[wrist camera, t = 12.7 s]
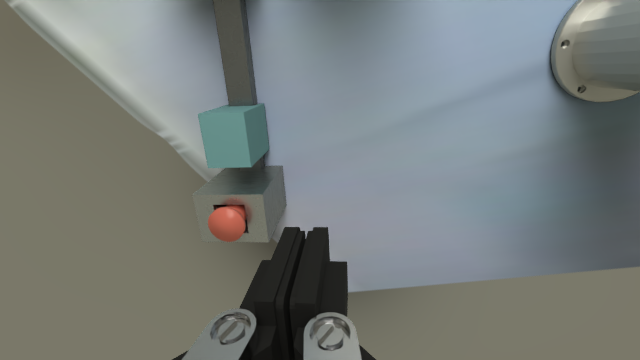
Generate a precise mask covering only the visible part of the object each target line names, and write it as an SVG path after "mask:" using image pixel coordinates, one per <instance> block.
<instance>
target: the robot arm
mask: <svg viewBox="0 0 640 360" xmlns="http://www.w3.org/2000/svg"><path fill="white" fill-rule="evenodd" d="M561 43H562V46H561ZM551 64H552V71H553V73H554V76H555V78H556V80H557V82H558V83H559V85H560V86H561V87H562V88H563V89H564V90H565V91H566V92H567V93H569V94H570V95H572V96H574V97H576V98H578V99H582V100H586V101H593V102H611V101H616V100H621V99H624V98H627V97H630V96H632V95H635V94H637V93H639V92H640V0H578V1H576V3H575V4H574V5H573V6H572V7H571V9H570V10H569V11H568V12H567V14H566V15H565V17H564V18H563V20H562V21H561V23H560V25H559V27H558V29H557V32H556V34H555V36H554V40H553V44H552V49H551ZM577 89H578V90H577ZM347 296H348V281H347V262H336V261H330V256H329V235H328V227H314V228H313V231H308V234H307V237H306V238H305V231H300V228H299V227H285V228H284V231H283V233H282V235H281V238H280V240H279V242H278V245H277V247H276V250H275V252H274V254H273V257H272V259H271V260H263V261H262V262H261V263H260V266H259V268H258V270H257V272H256V274H255V276H254V278H253V280H252V283H251V285H250V287H249V289H248V291H247V293H246V295H245V298H244V300H243V302H242V304H241V306H240V308H239V309H231V310H227V311H225V312H223V313H221V314H219V315H218V316H216V317H215V318H214V319H213V320H212V321H211V322H210V323H209V324H208V325H207V327H206V328H205V329H204V331H203V332H202V333H201V335H200V336H199V337H198V339H197V340H196V342H195V343H194V344H193V345H192V347H191V348H190V349H189V350H188V351H186V352H185V353H183V354H181V355H179V356H178V357H176V358H174V359H173V360H376V359H375V358H374V357H372V356H371V355H370V354H369V353H368V352H367V351H366V350H365V349H363V348H362V347H361V346H360V345H359V343H358V338H357V333H356V329H355V327H354V324H353V323H352V322H351V320H350V319H349V318H347V300H348V298H347Z"/></svg>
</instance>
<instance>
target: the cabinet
mask: <svg viewBox="0 0 640 360" xmlns="http://www.w3.org/2000/svg"><path fill="white" fill-rule="evenodd" d="M192 196H193V201H194V206H195V210H196V215H197V219H198V224H199V229H200V233H201V238H202V241H203V242H226V241H222V240H220V239H218V238H216V237H215V236H214V235H213V234H212V233H211V231H210V229H209V227H208V219H209V216H210V215H211V214H212V213H213V211H215V210H216V209H217V208H220V207H225V206H226V205H244V206H245V212H246V220H245V222H246V228H245V231H244V233H243V234H242V236H241V237H240V238H239V239H238V240H236V241H232V242H269V241H270V239H271V236H272V234H273V232H274V230H275V228H276V226H277V224H278V222H279V219H280V217H281V215H282V213H283V211H284V209H285V207H286V196H285V186H284V176H283V166H264V168H263V169H262V170H261V171H239V168H225V169H224V170H222V171H221V172H220V173H219V174H217V175H216V176H215V177H214V178H212V179H211V180H210V181H209V182H207V183H206V184H205V185H204V186H203V187H201V188H200V189H199V190H198V191H197V192H195V193H194V194H193V195H192Z"/></svg>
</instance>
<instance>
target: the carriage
mask: <svg viewBox="0 0 640 360" xmlns="http://www.w3.org/2000/svg"><path fill="white" fill-rule="evenodd" d="M198 118H199V123H200V128H201V133H202V138H203V144H204V149H205V154H206V159H207V165H208V168H239V167H252V166H253V165H254V164H255V163H256V162H257V161H258V160H259V159H260V158H261V157H262V156H263V155H264V154H265V153H266V152H267V151H268V150H269V143H268V134H267V125H266V116H265V107H264V104H257V105H254V106H229V105H225V106H222V107H219V108H216V109H212V110H209V111H206V112H203V113H200V114H198Z"/></svg>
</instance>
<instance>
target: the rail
mask: <svg viewBox="0 0 640 360" xmlns="http://www.w3.org/2000/svg"><path fill="white" fill-rule="evenodd" d="M213 4H214V10H215V17H216V23H217V30H218V36H219V43H220V49H221V56H222V62H223V69H224V75H225V82H226V88H227V95H228V101H229V106H254V105H257V96H256V88H255V79H254V71H253V63H252V55H251V46H250V38H249V30H248V21H247V13H246V5H245V0H213ZM264 166H265V162H264V155H263V156H262V157H261V158H260V159H259V160H258V161H257V162H256V163H255V164H254V165H253V166H252V167H239V171H261V170H262V169H263V168H264Z"/></svg>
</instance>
